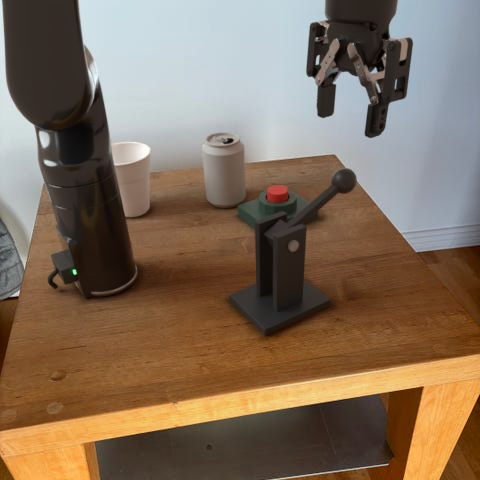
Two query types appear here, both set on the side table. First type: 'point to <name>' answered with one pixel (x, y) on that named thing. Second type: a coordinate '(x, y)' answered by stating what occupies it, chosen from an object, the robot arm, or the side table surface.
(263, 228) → the pivot lever stand
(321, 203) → the switch lever
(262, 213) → the button base block
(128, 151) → the cup
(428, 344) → the side table surface
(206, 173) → the can
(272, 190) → the power button
